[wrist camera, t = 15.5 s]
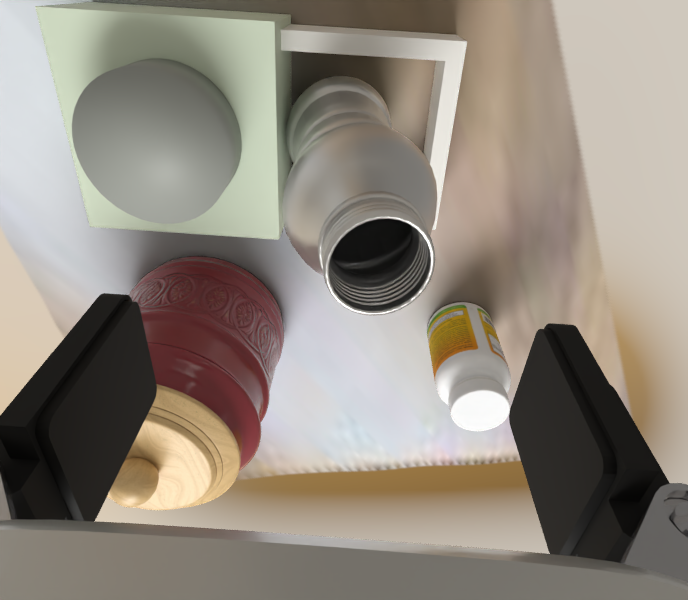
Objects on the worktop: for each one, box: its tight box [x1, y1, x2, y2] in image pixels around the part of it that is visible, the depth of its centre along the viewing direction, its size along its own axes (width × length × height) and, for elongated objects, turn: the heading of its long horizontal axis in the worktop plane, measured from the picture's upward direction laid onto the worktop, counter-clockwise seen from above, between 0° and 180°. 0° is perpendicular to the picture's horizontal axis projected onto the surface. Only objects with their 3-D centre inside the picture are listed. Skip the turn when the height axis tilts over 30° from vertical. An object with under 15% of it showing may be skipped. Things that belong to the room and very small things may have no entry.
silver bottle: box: [282, 76, 437, 315], centre depth 24 cm, size 6×7×20 cm
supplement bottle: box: [427, 302, 511, 431], centre depth 37 cm, size 5×5×10 cm
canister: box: [107, 256, 284, 510], centre depth 35 cm, size 13×13×18 cm
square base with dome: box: [35, 2, 467, 240], centre depth 29 cm, size 12×22×9 cm, turn 87°
